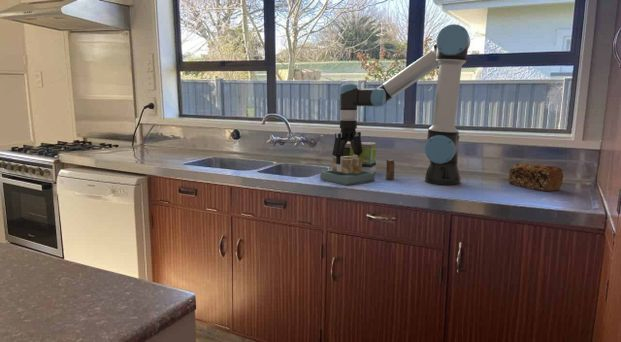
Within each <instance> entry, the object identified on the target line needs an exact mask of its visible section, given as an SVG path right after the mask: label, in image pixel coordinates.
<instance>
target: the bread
mask: <svg viewBox="0 0 621 342" xmlns="http://www.w3.org/2000/svg"><path fill="white" fill-rule="evenodd" d="M508 171H509V172H508V173H509V174H508V183H509V185H514V186H516V187H517V186H518V187H521V188H525V189H526V188H527V189H530V190H531V189H532V190H535V191H543V192H552V191H560V190H561V188H562V185H563V181H564V180H563V179H564V173H563V169H561V168H560V167H559V166H555V165H547V164H541V163H527V162H519V163H515V165H513V166H512V167H510V168H509V170H508Z"/></svg>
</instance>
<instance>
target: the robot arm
mask: <svg viewBox="0 0 621 342" xmlns="http://www.w3.org/2000/svg"><path fill="white" fill-rule="evenodd" d="M470 46H471V38H470V35H469V32H468V30H467V29H466V28H465V27H464V26H462V25H460V24H454V23H453V24H448V25H446V26H444V27H442V28H441V29H440V31H439V32H438V33H437V36H436V39H435V44H434V45H433V46H432V48H431V50H430V51H428V52H426V53H425V54H424V55H423V56H421V57H420V58H418V59H416V61H413V62H412V63H410V64H409V65H407V67H406V68H404V69H403V70H400V72H398V73H397V74H395V75H394V76H392V77H391V78H389V79H388V80H387V81H385V82H383V83H382V84H381V85H379V86H378V87H376V88H359V85H358V83H343V84H341V86H340V92H339V93H340V94H339V119H340V121H339V128H340V132H335V133H334V139H335V140H334V144H333V150H332V156H333V157H336V164H337V171H339V172H342V160H343V157H341V155H342V153H343V150H344V147H345V144H346V143H347V142H350V143H351V146H352V149H353V152H354V154H355V155H353V157H358V158H359V155H361V153H362V144H361V142H362V140H361V139H362V138H361V136H362V135H361V134H362V133H361V131H356V129H357V128H358V126H357V125H358V120H357V119H358V107H374V108H378V107H379V108H380V107H384V105H386V104H387V103H388V102H389V101H390V100H391V99H392V98H394V97H396V96H397V95H398V94H400V93H402V92H403V91H404V90H406V89H408V88H409V87H410V86H412V85H414V84H415V83H417V82H418V81H420V80H421V79H423V78H424V77H426V76H427V75H428V74H430V73H432V72H433V71H435V70H436V69H437V68H438V73H437V81H436V91H435V92H436V93H435V100H434V110H433V118H432V119H433V120H432V125H431V126H430V127H429V128H428V129H427V137H426V138H427V139H426V143H425V145H424V153H425V155H426V157H427V159H428V160H429V164H428V167H427V169H426V173H425V175H424V181H425V182H426V183H430V184H433V185H442V186H443V185H445V186H446V185H447V186H448V185H449V186H451V185H458V184H460V183H461V180H462V179H461V174H460V169H459V166H458V157H459V142H460V132H459V130H458V129H457V128H456V126H455V125H456V117H457V110H458V103H459V102H458V99H459V92H460V91H459V90H460V84H461V75H462V66H463V65H464V64H465V63H466V62H467V58H468V51H469V48H470Z"/></svg>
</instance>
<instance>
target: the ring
mask: <svg viewBox="0 0 621 342" xmlns="http://www.w3.org/2000/svg"><path fill="white" fill-rule="evenodd" d="M332 163H333V164H332V165H333V166H332V170H333V171H336V172H339V171H337V164H336V156H334V157H333V160H332ZM360 172H362V158H358V157H351V156H343V160H342V172H341V173H346V174H349V173H356V174H358V173H360Z"/></svg>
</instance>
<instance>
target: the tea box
mask: <svg viewBox="0 0 621 342" xmlns="http://www.w3.org/2000/svg"><path fill="white" fill-rule="evenodd" d="M361 144H362V153H361V155H359V158H362V171H366V172H371V173H376V170H377V169H376V168H377V167H376V166H377V142H368V141H367V142H365V141H364V142H363V141H361ZM353 155H355V154H354V152H353V149H352V146H351V143H350V142H349V141H347V143H346V144H345V147H344V150H343V153H342V155H341V157H343V156H351V157H353Z"/></svg>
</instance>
